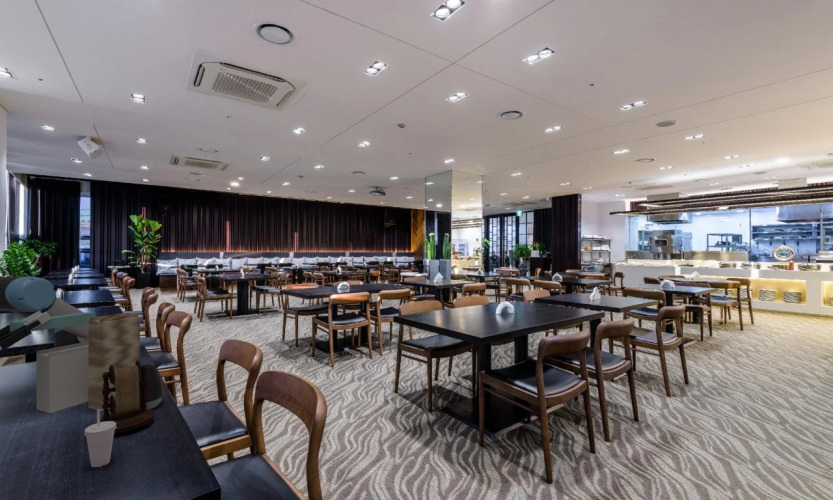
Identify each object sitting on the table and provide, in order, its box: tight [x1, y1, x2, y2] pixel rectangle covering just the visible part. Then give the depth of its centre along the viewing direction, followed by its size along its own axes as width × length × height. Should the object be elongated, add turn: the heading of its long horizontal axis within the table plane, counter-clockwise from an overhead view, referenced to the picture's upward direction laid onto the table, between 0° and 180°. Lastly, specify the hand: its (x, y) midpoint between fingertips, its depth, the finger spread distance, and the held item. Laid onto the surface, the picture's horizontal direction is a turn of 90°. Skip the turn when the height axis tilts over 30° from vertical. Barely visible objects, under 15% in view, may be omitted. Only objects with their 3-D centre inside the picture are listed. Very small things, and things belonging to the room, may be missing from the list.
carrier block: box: [35, 342, 89, 414], centre depth 137 cm, size 16×8×20 cm, turn 157°
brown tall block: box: [87, 312, 141, 412], centre depth 138 cm, size 12×8×31 cm, turn 157°
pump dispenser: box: [139, 361, 165, 410], centre depth 134 cm, size 10×10×15 cm
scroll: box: [94, 360, 155, 434], centre depth 120 cm, size 15×15×20 cm
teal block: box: [9, 311, 97, 332], centre depth 133 cm, size 22×4×4 cm, turn 157°
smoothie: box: [84, 409, 116, 468], centre depth 99 cm, size 6×6×14 cm
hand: (45, 314), depth 131 cm, fingers closed on teal block, 3 cm apart
